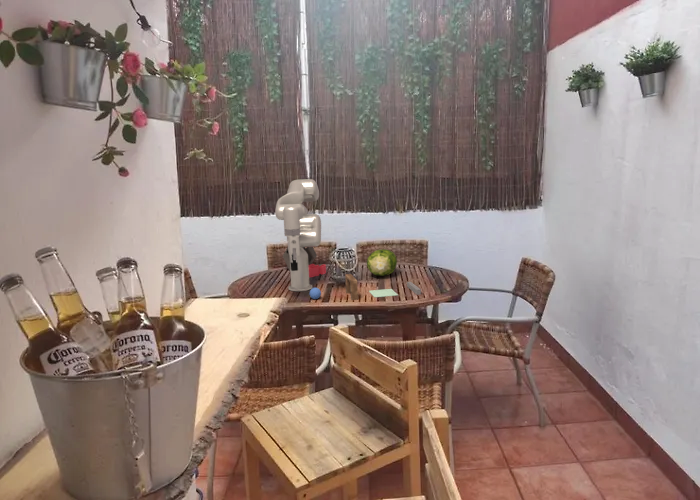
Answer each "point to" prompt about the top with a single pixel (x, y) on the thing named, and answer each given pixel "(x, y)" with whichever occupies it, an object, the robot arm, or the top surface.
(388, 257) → the lettuce
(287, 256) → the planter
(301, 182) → the robot arm
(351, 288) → the bridge
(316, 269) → the tape dispenser
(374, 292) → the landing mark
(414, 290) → the wall
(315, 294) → the ball
